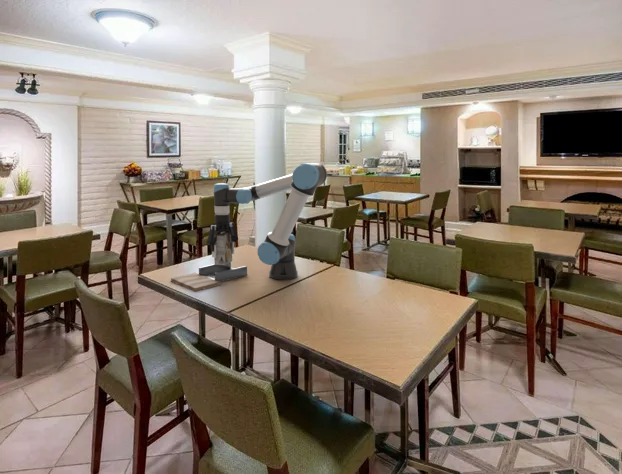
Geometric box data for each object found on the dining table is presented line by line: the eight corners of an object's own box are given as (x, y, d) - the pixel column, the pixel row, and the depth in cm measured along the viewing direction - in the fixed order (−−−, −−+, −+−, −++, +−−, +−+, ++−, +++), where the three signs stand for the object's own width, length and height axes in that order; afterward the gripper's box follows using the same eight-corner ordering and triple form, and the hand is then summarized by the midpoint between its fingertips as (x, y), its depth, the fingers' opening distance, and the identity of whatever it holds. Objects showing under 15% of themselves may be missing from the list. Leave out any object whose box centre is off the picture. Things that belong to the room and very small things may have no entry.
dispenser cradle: (247, 275, 222) (247, 266, 221) (216, 283, 207) (215, 273, 206) (229, 269, 231) (229, 260, 230) (199, 276, 217) (198, 267, 216)
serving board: (220, 284, 205) (220, 281, 204) (195, 291, 194) (195, 288, 194) (195, 275, 219) (195, 272, 219) (171, 281, 209) (170, 278, 208)
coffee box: (221, 260, 223) (220, 231, 219) (232, 261, 221) (231, 231, 218) (214, 264, 214) (213, 234, 211) (225, 265, 212) (224, 234, 209)
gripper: (235, 211, 223) (236, 250, 228) (198, 215, 206) (200, 258, 211) (244, 212, 218) (245, 252, 223) (207, 217, 201) (208, 260, 206)
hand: (223, 255), depth 217 cm, fingers closed on coffee box, 11 cm apart
